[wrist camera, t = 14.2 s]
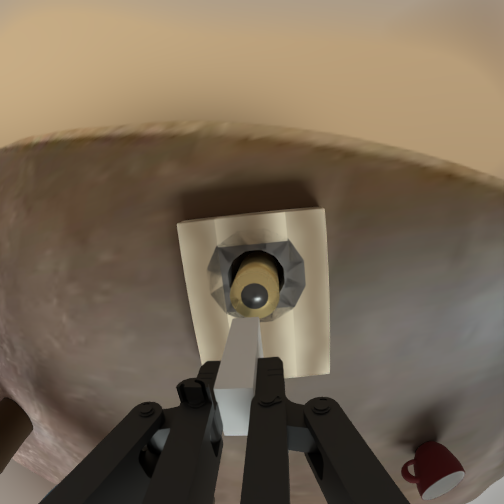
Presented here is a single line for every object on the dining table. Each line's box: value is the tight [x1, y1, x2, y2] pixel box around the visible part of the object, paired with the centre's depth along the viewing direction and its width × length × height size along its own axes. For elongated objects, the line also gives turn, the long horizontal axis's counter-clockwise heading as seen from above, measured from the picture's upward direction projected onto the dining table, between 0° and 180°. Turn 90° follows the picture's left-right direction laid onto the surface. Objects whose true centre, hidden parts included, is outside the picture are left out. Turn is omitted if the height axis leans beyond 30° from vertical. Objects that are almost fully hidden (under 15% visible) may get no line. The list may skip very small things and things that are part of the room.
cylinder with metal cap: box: [230, 252, 280, 318], centre depth 28 cm, size 4×4×8 cm
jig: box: [177, 207, 330, 378], centre depth 31 cm, size 14×18×3 cm
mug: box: [401, 441, 465, 500], centre depth 33 cm, size 10×8×10 cm
